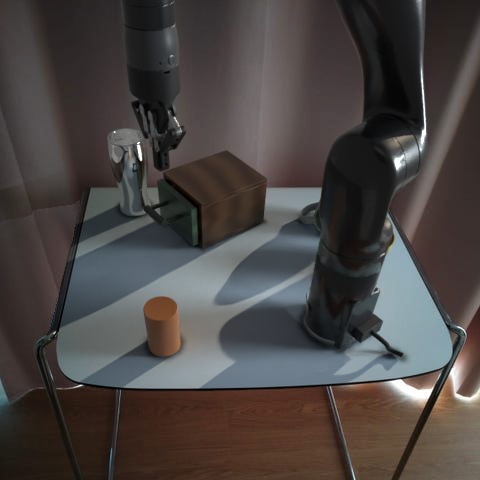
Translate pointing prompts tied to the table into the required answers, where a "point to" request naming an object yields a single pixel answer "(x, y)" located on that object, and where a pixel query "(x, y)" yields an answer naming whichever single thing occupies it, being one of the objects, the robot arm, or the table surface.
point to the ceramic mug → (313, 219)
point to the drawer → (176, 211)
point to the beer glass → (130, 169)
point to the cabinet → (221, 194)
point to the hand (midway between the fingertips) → (162, 168)
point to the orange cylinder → (162, 326)
